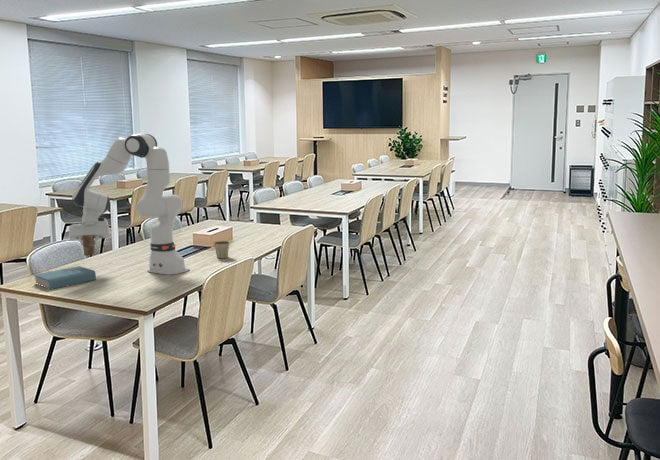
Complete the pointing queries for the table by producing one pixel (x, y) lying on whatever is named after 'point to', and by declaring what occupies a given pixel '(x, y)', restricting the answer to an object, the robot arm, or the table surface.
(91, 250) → the walnut block
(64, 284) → the book
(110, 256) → the table surface
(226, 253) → the flower pot
